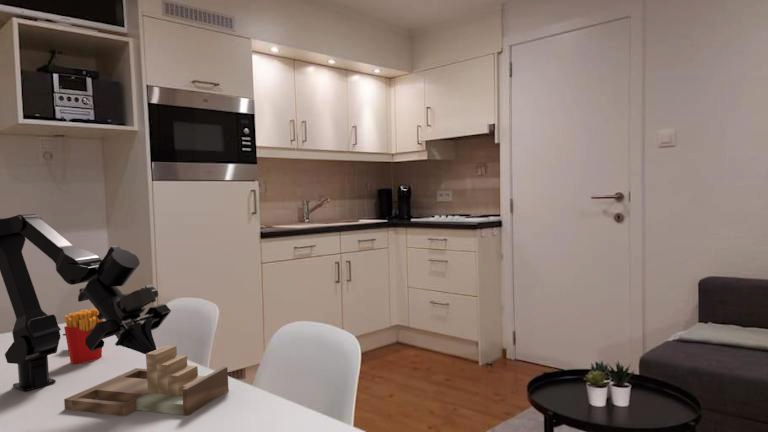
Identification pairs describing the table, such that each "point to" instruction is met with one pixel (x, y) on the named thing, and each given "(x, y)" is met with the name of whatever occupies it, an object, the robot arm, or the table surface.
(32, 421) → the table surface
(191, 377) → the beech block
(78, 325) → the french fries
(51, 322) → the robot arm
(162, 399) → the brown wooden flat frame
